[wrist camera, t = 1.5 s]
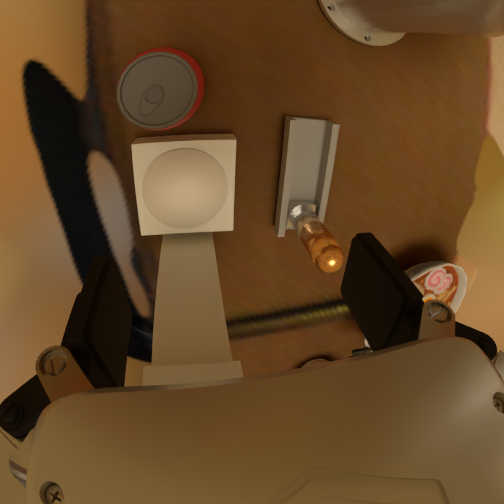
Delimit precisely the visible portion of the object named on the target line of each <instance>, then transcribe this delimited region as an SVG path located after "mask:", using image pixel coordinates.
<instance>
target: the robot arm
mask: <svg viewBox="0 0 504 504" xmlns="http://www.w3.org/2000/svg"><path fill="white" fill-rule="evenodd" d="M318 2H319V4H320V7H321V9H322V11H323V13H324V14H325V16H326V18H327V19H328V20H329V21H330V23H331V24H332V25H333V26H334V27H335V28H336V29H337V30H338V31H339V32H340V33H342V34H343V35H345V36H346V37H347V38H349V39H351V40H353V41H355V42H358V43H361V44H364V45H369V46H385V45H390V44H392V43H395V42H397V41H398V40H399V39H401V38H402V37H403V36H404V35H405V34H406V33H445V34H460V35H471V36H480V37H499V36H502V35H504V0H318ZM328 7H329V8H330V10H329V9H328ZM364 37H365V39H364ZM341 294H342V296H343V298H344V300H345V302H346V303H347V305H348V307H349V309H350V311H351V312H352V314H353V316H354V318H355V320H356V322H357V323H358V325H359V327H360V329H361V331H362V333H363V334H364V336H365V338H366V340H367V342H368V344H369V346H370V348H371V350H372V351H373V352H370V353H366V354H362V355H358V356H354V357H350V358H346V359H341V360H337V361H332V362H327V363H323V364H318V365H313V366H308V367H303V368H297V369H292V370H286V371H280V372H274V373H268V374H261V375H255V376H248V377H240V378H232V379H224V380H215V381H205V382H194V383H182V384H167V385H151V386H131V387H124V382H125V371H126V362H127V353H128V344H129V336H130V329H131V322H132V313H131V309H130V306H129V303H128V300H127V297H126V294H125V291H124V288H123V285H122V282H121V279H120V276H119V273H118V270H117V267H116V263H115V261H114V260H110V258H109V257H108V256H105V257H95V258H94V259H93V261H92V264H91V266H90V269H89V272H88V274H87V277H86V280H85V282H84V285H83V288H82V291H81V293H79V294H78V295H77V297H76V299H75V302H74V305H73V308H72V311H71V314H70V317H69V320H68V323H67V326H66V329H65V333H64V336H63V339H62V343H61V346H57V345H55V346H51V347H49V348H47V349H45V350H44V351H43V352H42V353H41V354H40V355H39V357H38V358H37V361H36V366H35V369H36V372H37V374H36V375H35V376H34V377H32V378H31V379H30V380H29V381H27V382H26V383H25V384H23V385H22V386H21V387H20V388H18V389H17V390H16V391H15V392H13V393H12V394H11V395H10V396H8V397H7V398H6V399H5V400H4V401H3V402H2V403H1V404H0V504H504V352H502V351H501V350H500V351H499V352H497V347H496V344H495V342H494V341H493V339H492V338H491V337H490V336H488V335H487V334H485V333H483V332H480V331H478V330H476V329H473V328H471V327H468V326H466V325H463V324H461V323H459V322H456V321H455V314H454V312H453V310H452V308H451V307H450V306H449V305H447V304H446V303H445V302H443V301H440V300H436V299H431V300H428V301H426V302H425V303H424V301H423V300H422V299H423V294H422V293H421V292H420V291H419V289H418V288H417V287H416V285H415V284H414V283H413V282H412V280H411V279H410V278H409V277H408V275H407V274H406V273H405V272H404V271H403V269H402V268H401V267H400V266H399V265H398V263H397V262H396V261H395V260H394V259H393V257H392V256H391V255H390V254H389V253H388V251H387V250H386V249H385V248H384V247H383V246H382V245H381V243H380V242H379V241H378V240H377V239H376V238H375V237H374V235H373V234H372V233H358V234H357V235H356V236H355V237H354V238H353V239H352V242H351V247H350V251H349V256H348V260H347V264H346V269H345V273H344V277H343V281H342V285H341Z"/></svg>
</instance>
